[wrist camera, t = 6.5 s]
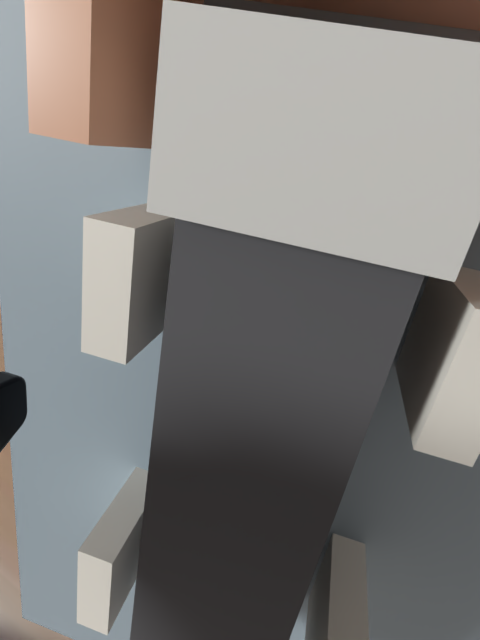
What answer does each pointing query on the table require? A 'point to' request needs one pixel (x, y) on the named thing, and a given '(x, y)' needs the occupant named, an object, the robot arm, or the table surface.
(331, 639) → the board
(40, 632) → the table surface
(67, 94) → the end holder
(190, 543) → the rod
